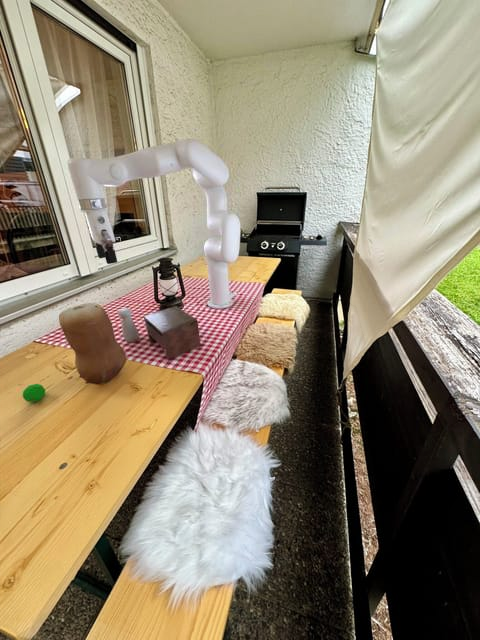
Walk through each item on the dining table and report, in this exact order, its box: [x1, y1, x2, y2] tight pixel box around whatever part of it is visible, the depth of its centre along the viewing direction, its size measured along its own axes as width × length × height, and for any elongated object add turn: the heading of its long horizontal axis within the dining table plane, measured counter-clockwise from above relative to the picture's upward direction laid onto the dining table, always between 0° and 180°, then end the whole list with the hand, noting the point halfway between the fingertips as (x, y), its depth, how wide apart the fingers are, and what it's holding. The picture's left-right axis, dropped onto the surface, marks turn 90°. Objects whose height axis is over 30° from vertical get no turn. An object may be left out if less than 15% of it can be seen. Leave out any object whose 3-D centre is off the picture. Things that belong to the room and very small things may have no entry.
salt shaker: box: [118, 307, 140, 343], centre depth 97 cm, size 6×6×13 cm
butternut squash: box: [58, 302, 127, 385], centre depth 75 cm, size 14×13×25 cm
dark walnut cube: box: [143, 305, 202, 361], centre depth 95 cm, size 13×16×11 cm
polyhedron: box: [22, 383, 46, 403], centre depth 73 cm, size 5×5×5 cm
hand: (107, 260), depth 88 cm, fingers open, 9 cm apart
